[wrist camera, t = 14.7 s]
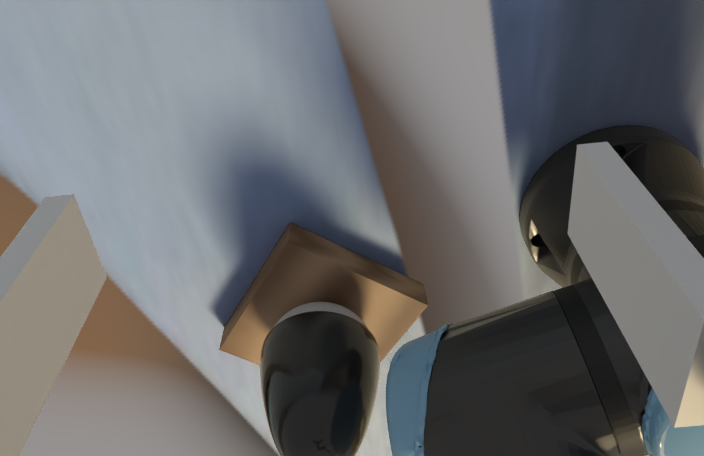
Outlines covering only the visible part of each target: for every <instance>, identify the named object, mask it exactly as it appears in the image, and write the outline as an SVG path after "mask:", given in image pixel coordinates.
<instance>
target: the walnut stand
mask: <svg viewBox="0 0 704 456" xmlns="http://www.w3.org/2000/svg"><path fill="white" fill-rule="evenodd" d="M312 302H329V303H335V304H338V305H341V306H343V307H345V308H347V309H349V310H351V311H352V312H354V313H355V314H356V315H357V316H358V317H360V318H361V320H362V321H363V322H364V323H365V325H366V326H367V327H368V329H369V331H370V332H371V333H372V334H373V336H374V337H375V339H376V341H377V344H378V347H379V354H380V362H381V361H382V360H383V358H384V357H385V356H386V355H387V354H388V352H389V351H390V350H391V349H392V348H393V347H394V345H395V344H396V343H397V342H398V341H399V339H400V338H401V337H402V336H403V335H404V333H405V332H406V331H407V330H408V329H409V327H410V326H411V325H412V324H413V323H414V321H415V320H416V319H417V318H418V317H419V316H420V314H421V313H422V312H423V311H424V309H425V308H426V307H427V306H428V303H427V298H426V293H425V288H424V284H422V283H420V282H417V281H415V280H413V279H411V278H409V277H407V276H405V275H402V274H400V273H398V272H396V271H394V270H392V269H390V268H387V267H385V266H383V265H381V264H379V263H377V262H374V261H372V260H370V259H368V258H366V257H364V256H361V255H359V254H357V253H355V252H353V251H351V250H348V249H346V248H344V247H342V246H340V245H338V244H335V243H333V242H331V241H329V240H327V239H325V238H322V237H320V236H318V235H316V234H314V233H312V232H310V231H307V230H305V229H303V228H301V227H299V226H297V225H294V224H292V223H290V224H289V225H288V227H287V228H286V230H285V232H284V233H283V235H282V236H281V238H280V239H279V241H278V243H277V244H276V246H275V247H274V249H273V251H272V252H271V254H270V255H269V257H268V259H267V260H266V262H265V263H264V265H263V267H262V268H261V270H260V271H259V273H258V275H257V276H256V278H255V279H254V281H253V283H252V284H251V286H250V287H249V289H248V290H247V292H246V294H245V295H244V297H243V298H242V300H241V302H240V303H239V305H238V306H237V308H236V310H235V311H234V313H233V314H232V316H231V318H230V319H229V321H228V322H227V324H226V326H225V327H224V331H223V335H222V340H221V345H220V349H219V350H221V351H224V352H227V353H229V354H232V355H234V356H237V357H240V358H242V359H245V360H248V361H250V362H253V363H255V364H258V365H260V356H261V349H262V345H263V342H264V340H265V338H266V336H267V334H268V333H269V332H270V331H271V330H272V329H273V327H274V326H275V324H276V323H277V322H278V321H279V319H280V318H281V317H282V316H284V315H285V314H286V313H287V312H289V311H290V310H292V309H294V308H296V307H298V306H300V305H303V304H307V303H312Z"/></svg>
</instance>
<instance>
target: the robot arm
mask: <svg viewBox="0 0 704 456" xmlns="http://www.w3.org/2000/svg"><path fill="white" fill-rule="evenodd" d="M520 227H521V232H522V235H523V238H524V241H525V243H526V245H527V248H528V250H529V252H530V254H531V256H532V258H533V260H534V261H535V262H536V264H537V265H538V266H539V268H540V269H541V270H542V271H543V272H544V273H545V274H547V275H548V276H549V277H550V278H552V279H553V280H554V281H555V282H556V283H558V284H559V285H560V286H561V287H563V288H561V289H558V290H555V291H551V292H548V293H545V294H542V295H539V296H536V297H533V298H530V299H527V300H524V301H522V302H519V303H516V304H513V305H510V306H507V307H504V308H501V309H498V310H495V311H492V312H489V313H486V314H483V315H480V316H477V317H475V318H472V319H469V320H466V321H463V322H459V323H456V324H453V323H448V324H446V325H443V326H442V327H441V328H440V329H439V330H437V331H434V332H432V333H430V334H427V335H424V336H422V337H420V338H417V339H415V340H412V341H409V342H407V343H406V344H404V345H403V346H402V347H401V348H400V349H399V350H398V351H397V352H396V353H395V355H394V357H393V359H392V361H391V364H390V368H389V372H388V376H387V384H386V412H387V423H388V431H389V438H390V444H391V450H392V455H393V456H645V455H650V456H704V169H703V167H702V165H701V164H700V162H699V161H698V160H697V158H696V157H695V156H694V155H693V154H692V153H691V152H690V151H689V150H688V149H687V148H686V147H685V146H683V145H682V144H681V143H680V142H679V141H678V140H676V139H675V138H674V137H672V136H670V135H668V134H666V133H664V132H662V131H659V130H656V129H652V128H648V127H641V126H619V127H612V128H607V129H603V130H599V131H596V132H593V133H590V134H587V135H585V136H583V137H581V138H579V139H577V140H575V141H573V142H571V143H570V144H568V145H566V146H565V147H563V148H562V149H560V150H559V151H558V152H557V153H555V154H554V155H553V156H552V157H551V158H550V159H549V160H548V161H546V162H545V163H544V165H543V166H542V167H541V168H540V169H539V170H538V172H537V173H536V174H535V176H534V177H533V179H532V180H531V182H530V184H529V186H528V188H527V190H526V192H525V195H524V198H523V201H522V205H521V211H520ZM106 278H107V276H106V274H105V271H104V269H103V266H102V264H101V261H100V259H99V256H98V254H97V251H96V249H95V246H94V244H93V241H92V239H91V236H90V234H89V231H88V229H87V226H86V224H85V221H84V219H83V216H82V214H81V211H80V209H79V206H78V204H77V201H76V199H75V196H74V195H64V196H54V197H45V199H44V200H43V201H42V202H41V204H40V205H39V206H38V208H37V209H36V211H35V212H34V213H33V215H32V216H31V217H30V219H29V220H28V221H27V222H26V224H25V225H24V227H23V228H22V229H21V230H20V232H19V233H18V234H17V236H16V237H15V238H14V240H13V241H12V242H11V244H10V245H9V246H8V248H7V249H6V251H5V252H4V253H3V254H2V256H1V257H0V456H19V454H20V452H21V450H22V448H23V446H24V444H25V442H26V440H27V438H28V436H29V434H30V432H31V430H32V428H33V426H34V424H35V422H36V420H37V418H38V416H39V414H40V412H41V410H42V408H43V406H44V404H45V402H46V399H47V398H48V395H49V393H50V391H51V389H52V387H53V385H54V383H55V381H56V379H57V377H58V375H59V373H60V371H61V369H62V367H63V365H64V363H65V361H66V359H67V357H68V355H69V353H70V351H71V349H72V347H73V344H74V343H75V341H76V338H77V337H78V334H79V332H80V330H81V328H82V326H83V324H84V322H85V320H86V318H87V316H88V314H89V312H90V310H91V308H92V306H93V304H94V302H95V300H96V298H97V296H98V294H99V292H100V289H101V288H102V286H103V284H104V282H105V279H106Z"/></svg>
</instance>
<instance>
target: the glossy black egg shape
mask: <svg viewBox="0 0 704 456" xmlns="http://www.w3.org/2000/svg"><path fill="white" fill-rule="evenodd" d="M379 371H380V354H379V347H378V344H377V341H376V339H375V337H374V336H373V334H372V333H371V332H370V331H369V329H368V327H367V326H366V325H365V323H364V322H363V321H362V320H361V318H360V317H358V316H357V315H356V314H355V313H354V312H352V311H351V310H349V309H347V308H345V307H343V306H341V305H338V304H335V303H329V302H312V303H307V304H303V305H300V306H298V307H296V308H294V309H292V310H290V311H289V312H287V313H286V314H285V315H284V316H282V317H281V318H280V319H279V321H278V322H277V323H276V324H275V326H274V327H273V329H272V330H271V331H270V332H269V333H268V334H267V336H266V338H265V340H264V342H263V345H262V349H261V356H260V376H261V389H262V396H263V402H264V408H265V412H266V417H267V421H268V425H269V428H270V432H271V435H272V438H273V440H274V443H275V445H276V448H277V450H278V452H279V454H280V455H281V456H355V455H356V453H357V452H358V450H359V448H360V446H361V444H362V441H363V439H364V437H365V434H366V431H367V428H368V425H369V422H370V418H371V415H372V411H373V407H374V403H375V399H376V394H377V388H378V380H379Z"/></svg>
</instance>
